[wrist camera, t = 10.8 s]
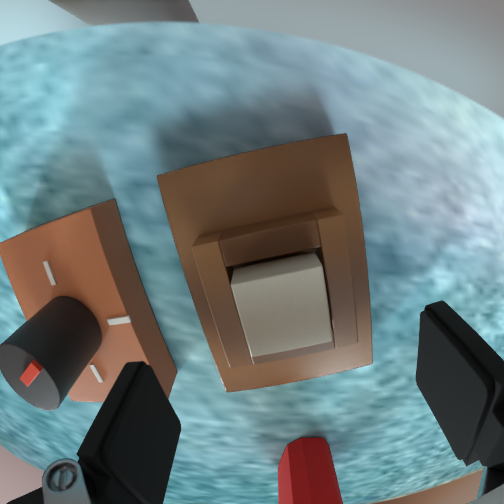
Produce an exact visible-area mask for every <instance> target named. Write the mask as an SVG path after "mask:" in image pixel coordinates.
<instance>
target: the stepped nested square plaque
mask: <svg viewBox="0 0 504 504" xmlns="http://www.w3.org/2000/svg"><path fill="white" fill-rule="evenodd" d="M157 180H158V184H159V188H160V192H161V195H162V199H163V203H164V206H165V210H166V214H167V217H168V221H169V224H170V228H171V231H172V235H173V238H174V241H175V245H176V248H177V251H178V255H179V258H180V261H181V264H182V268H183V271H184V274H185V277H186V280H187V283H188V286H189V290H190V293H191V296H192V299H193V302H194V305H195V308H196V311H197V314H198V317H199V319H200V322H201V325H202V328H203V331H204V334H205V337H206V339H207V342H208V345H209V348H210V351H211V353H212V356H213V359H214V361H215V364H216V367H217V369H218V372H219V375H220V377H221V380H222V383H223V385H224V388H225V390H226V392H235V391H242V390H249V389H256V388H263V387H269V386H275V385H280V384H286V383H291V382H297V381H302V380H307V379H312V378H316V377H321V376H326V375H330V374H334V373H339V372H343V371H347V370H351V369H355V368H359V367H362V366H366V365H370V364H372V363H373V355H372V326H371V308H370V293H369V280H368V269H367V259H366V250H365V241H364V233H363V225H362V218H361V211H360V204H359V197H358V191H357V185H356V179H355V173H354V168H353V162H352V157H351V152H350V147H349V142H348V137H347V134H346V133H344V134H337V135H331V136H325V137H319V138H313V139H308V140H302V141H297V142H291V143H286V144H281V145H276V146H271V147H267V148H262V149H257V150H253V151H248V152H244V153H240V154H235V155H231V156H227V157H223V158H219V159H215V160H211V161H207V162H203V163H199V164H196V165H192V166H188V167H185V168H181V169H178V170H174V171H171V172H167V173H164V174H160V175H157ZM310 252H315V253H316V255H317V257H318V259H319V261H320V262H321V264H322V266H323V273H324V279H325V286H326V293H327V300H328V307H329V314H330V322H331V330H332V338H333V339H332V341H330V342H326V343H321V344H317V345H312V346H308V347H303V348H298V349H293V350H288V351H283V352H277V353H272V354H266V355H261V356H255V357H252V356H251V355H250V351H249V348H248V344H247V341H246V338H245V334H244V331H243V327H242V324H241V320H240V317H239V313H238V310H237V306H236V302H235V299H234V295H233V292H232V288H231V281H232V276H233V271H234V269H235V268H239V267H244V266H248V265H253V264H258V263H263V262H268V261H272V260H277V259H282V258H287V257H291V256H296V255H301V254H305V253H310Z"/></svg>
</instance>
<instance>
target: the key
mask: <svg viewBox="0 0 504 504" xmlns="http://www.w3.org/2000/svg"><path fill="white" fill-rule="evenodd" d="M231 288H232V292H233V295H234V299H235V302H236V306H237V310H238V313H239V317H240V320H241V324H242V327H243V331H244V334H245V338H246V341H247V344H248V348H249V351H250V355H251V356H252V357H255V356H261V355H266V354H272V353H277V352H283V351H288V350H293V349H298V348H303V347H308V346H312V345H317V344H321V343H326V342H330V341H332V339H333V338H332V330H331V322H330V314H329V307H328V300H327V293H326V286H325V279H324V273H323V266H322V264H321V262H320V261H319V259H318V257H317V255H316V253H315V252H310V253H305V254H301V255H296V256H291V257H287V258H282V259H277V260H272V261H268V262H263V263H258V264H253V265H248V266H244V267H239V268H235V269H234V271H233V276H232V281H231Z"/></svg>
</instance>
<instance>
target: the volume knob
mask: <svg viewBox="0 0 504 504" xmlns="http://www.w3.org/2000/svg"><path fill="white" fill-rule="evenodd" d="M101 341H102V334H101V329H100V326H99V324H98V321H97V320H96V318H95V316H94V315H93V314H92V312H91V311H90V310H89V309H88V308H87V307H86V306H85V305H84V304H82V303H81V302H80V301H78V300H76V299H74V298H72V297H68V296H58V297H55V298H53V299H52V300H51V301H50V302H48V303H47V304H46V305H45V306H44V307H43V308H41V309H40V310H39V311H38V312H37V313H36V314H34V315H33V316H32V317H31V318H30V319H29V320H28V321H26V322H25V323H24V324H23V325H22V326H21V327H20V328H19V329H17V330H16V331H15V332H14V333H13V334H12V335H11V336H10V337H9V338H8V339H6V340H5V341H4V342H3V343H2V344H1V345H0V370H1V372H2V374H3V376H4V378H5V379H6V381H7V382H8V383H9V385H10V386H11V387H12V388H13V390H14V391H15V392H16V393H17V394H18V395H19V396H20V397H22V398H23V399H24V400H25V401H27V402H28V403H30V404H31V405H33V406H35V407H37V408H39V409H42V410H48V411H51V410H55V409H57V408H58V407H59V406H60V404H61V403H62V401H63V400H64V398H65V397H66V395H67V394H68V392H69V391H70V389H71V388H72V386H73V385H74V383H75V382H76V381H77V379H78V378H79V376H80V375H81V373H82V372H83V370H84V369H85V368H86V366H87V365H88V363H89V362H90V361H91V359H92V358H93V356H94V355H95V354H96V352H97V351H98V349H99V348H100V345H101Z"/></svg>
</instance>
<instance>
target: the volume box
mask: <svg viewBox="0 0 504 504" xmlns="http://www.w3.org/2000/svg"><path fill="white" fill-rule="evenodd" d="M0 255H1V258H2V261H3V264H4V267H5V269H6V272H7V275H8V277H9V280H10V283H11V285H12V288H13V290H14V293H15V295H16V297H17V300H18V302H19V304H20V307H21V309H22V311H23V313H24V315H25V318H26V320H27V321H28V320H29V319H30V318H31V317H32V316H33V315H34V314H36V313H37V312H38V311H39V310H40V309H41V308H43V307H44V306H45V305H46V304H47V303H48V302H50V301H51V300H52V299H53V298H55V297H58V296H68V297H72V298H74V299H76V300H78V301H80V302H81V303H82V304H84V305H85V306H86V307H87V308H88V309H89V310H90V311H91V312H92V314H93V315H94V316H95V318H96V320H97V321H98V324H99V326H100V329H101V334H102V341H101V345H100V348H99V349H98V351H97V352H96V354H95V355H94V356H93V358H92V359H91V361H90V362H89V363H88V365H87V366H86V368H85V369H84V370H83V372H82V373H81V375H80V376H79V378H78V379H77V381H76V382H75V383H74V385H73V386H72V388H71V389H70V391H69V392H68V395H69V397H70V398H71V400H72V401H84V402H104V401H105V399H106V397H107V395H108V394H109V392H110V390H111V388H112V386H113V385H114V383H115V381H116V379H117V377H118V376H119V374H120V372H121V370H122V369H123V367H124V365H125V364H126V363H127V362H135V361H144V362H145V363H146V364H147V365H150V366H151V367H152V368H153V370H154V372H155V375H156V377H157V379H158V381H159V383H160V385H161V387H162V388H163V390H164V392H165V394H166V396H167V398H169V395H170V392H171V389H172V386H173V383H174V380H175V378H176V375H177V369H176V367H175V364H174V362H173V360H172V358H171V355H170V353H169V351H168V348H167V346H166V344H165V341H164V339H163V337H162V334H161V332H160V329H159V327H158V324H157V322H156V319H155V317H154V314H153V312H152V309H151V306H150V304H149V301H148V298H147V296H146V293H145V290H144V288H143V285H142V282H141V279H140V276H139V274H138V271H137V268H136V265H135V262H134V259H133V256H132V253H131V250H130V247H129V244H128V241H127V237H126V234H125V231H124V228H123V224H122V221H121V218H120V214H119V211H118V207H117V204H116V200H115V199H112V200H109V201H106V202H103V203H100V204H97V205H94V206H91V207H88V208H86V209H83V210H80V211H77V212H74V213H72V214H69V215H66V216H63V217H61V218H58V219H55V220H53V221H50V222H48V223H45V224H42V225H40V226H37V227H35V228H32V229H30V230H27V231H25V232H23V233H20V234H18V235H16V236H14V237H12V238H9V239H7V240H5V241H3V242H1V243H0Z"/></svg>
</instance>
